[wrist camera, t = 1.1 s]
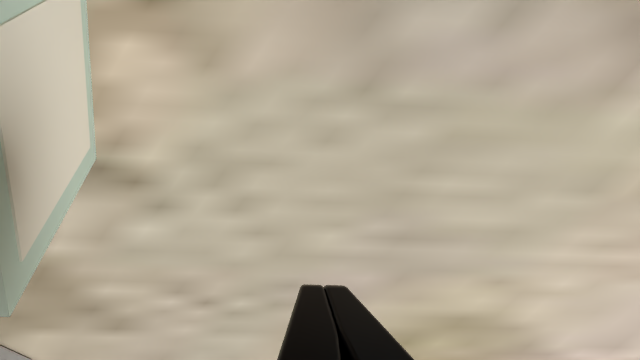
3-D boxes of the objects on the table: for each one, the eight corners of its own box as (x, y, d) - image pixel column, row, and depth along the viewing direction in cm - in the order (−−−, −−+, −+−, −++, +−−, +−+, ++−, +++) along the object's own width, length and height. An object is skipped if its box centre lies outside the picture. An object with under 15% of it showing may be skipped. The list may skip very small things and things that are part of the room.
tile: (98, 158, 21) (13, 316, 13) (43, 154, 20) (-79, 315, 13) (85, -54, 17) (-46, -8, 9) (17, -64, 17) (-178, -25, 9)
